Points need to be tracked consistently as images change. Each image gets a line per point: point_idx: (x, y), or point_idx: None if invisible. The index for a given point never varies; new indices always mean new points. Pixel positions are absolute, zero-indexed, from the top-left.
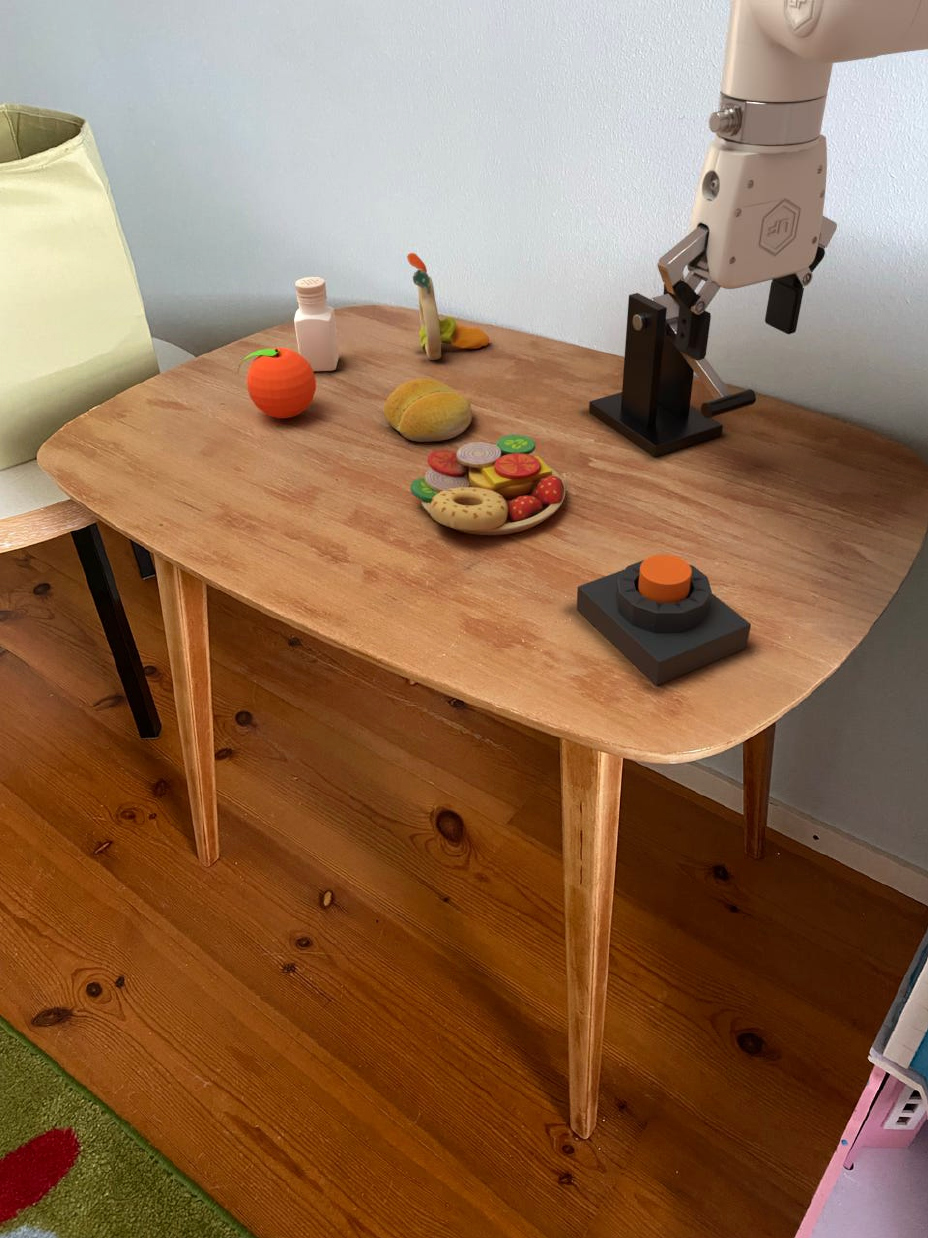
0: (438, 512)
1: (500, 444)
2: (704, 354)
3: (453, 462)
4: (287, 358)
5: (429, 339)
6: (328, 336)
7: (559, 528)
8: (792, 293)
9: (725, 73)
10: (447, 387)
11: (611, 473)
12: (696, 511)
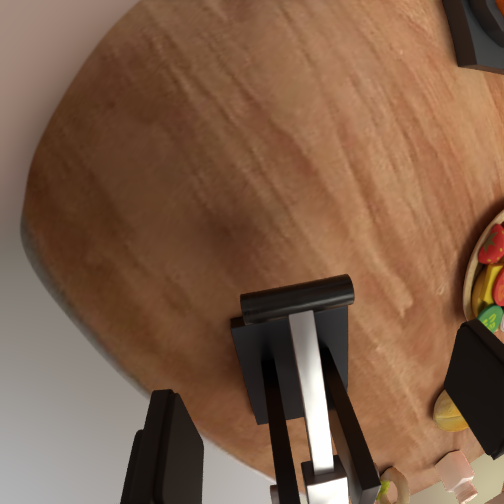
0: None
1: (497, 324)
2: (472, 326)
3: None
4: None
5: (405, 478)
6: (459, 469)
7: (493, 197)
8: (167, 494)
9: None
10: (448, 423)
11: (404, 279)
12: (369, 157)
